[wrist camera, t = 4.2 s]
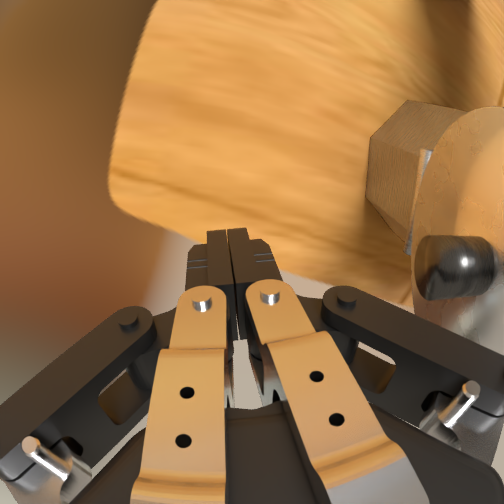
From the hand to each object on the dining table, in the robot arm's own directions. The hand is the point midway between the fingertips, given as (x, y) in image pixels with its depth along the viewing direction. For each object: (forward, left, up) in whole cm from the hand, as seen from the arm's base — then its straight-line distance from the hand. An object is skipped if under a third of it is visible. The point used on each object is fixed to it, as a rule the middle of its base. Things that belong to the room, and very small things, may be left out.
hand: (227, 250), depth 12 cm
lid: (0, +11, +5) cm, 12 cm away
